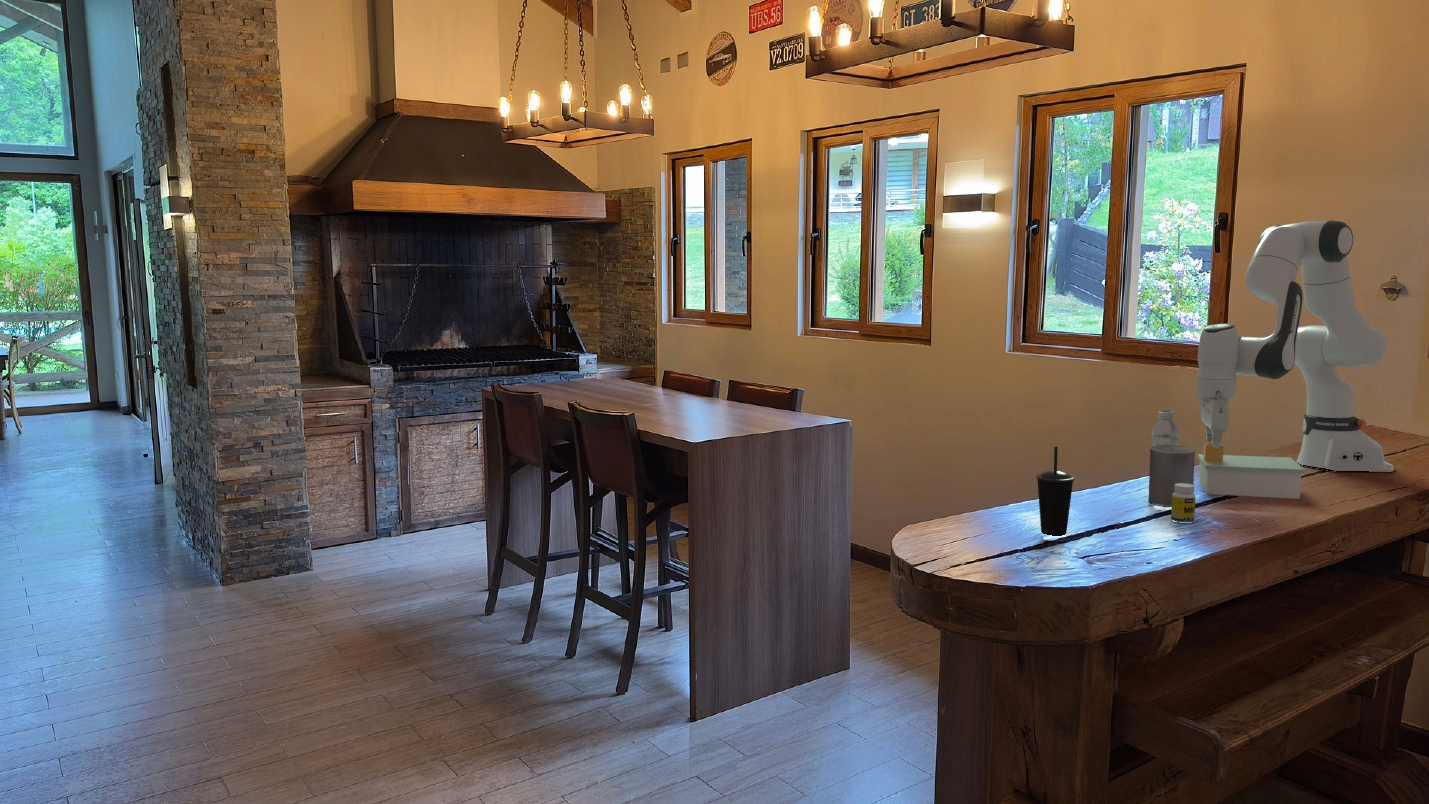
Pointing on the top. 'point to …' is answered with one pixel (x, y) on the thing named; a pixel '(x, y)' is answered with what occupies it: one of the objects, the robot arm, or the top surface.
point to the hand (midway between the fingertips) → (1212, 444)
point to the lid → (1246, 462)
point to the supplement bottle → (1183, 503)
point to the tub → (1250, 483)
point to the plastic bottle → (1165, 429)
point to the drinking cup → (1054, 499)
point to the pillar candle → (1169, 471)
